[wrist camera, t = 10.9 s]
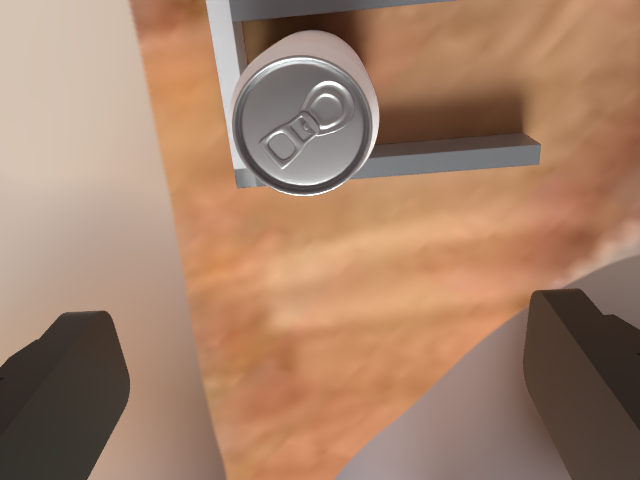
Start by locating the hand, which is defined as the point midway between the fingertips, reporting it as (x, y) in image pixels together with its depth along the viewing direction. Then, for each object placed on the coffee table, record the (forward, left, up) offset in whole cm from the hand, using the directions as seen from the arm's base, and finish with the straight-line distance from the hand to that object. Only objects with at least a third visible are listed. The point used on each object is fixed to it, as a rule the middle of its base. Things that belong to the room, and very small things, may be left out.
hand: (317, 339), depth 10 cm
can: (+1, -1, -24) cm, 24 cm away
